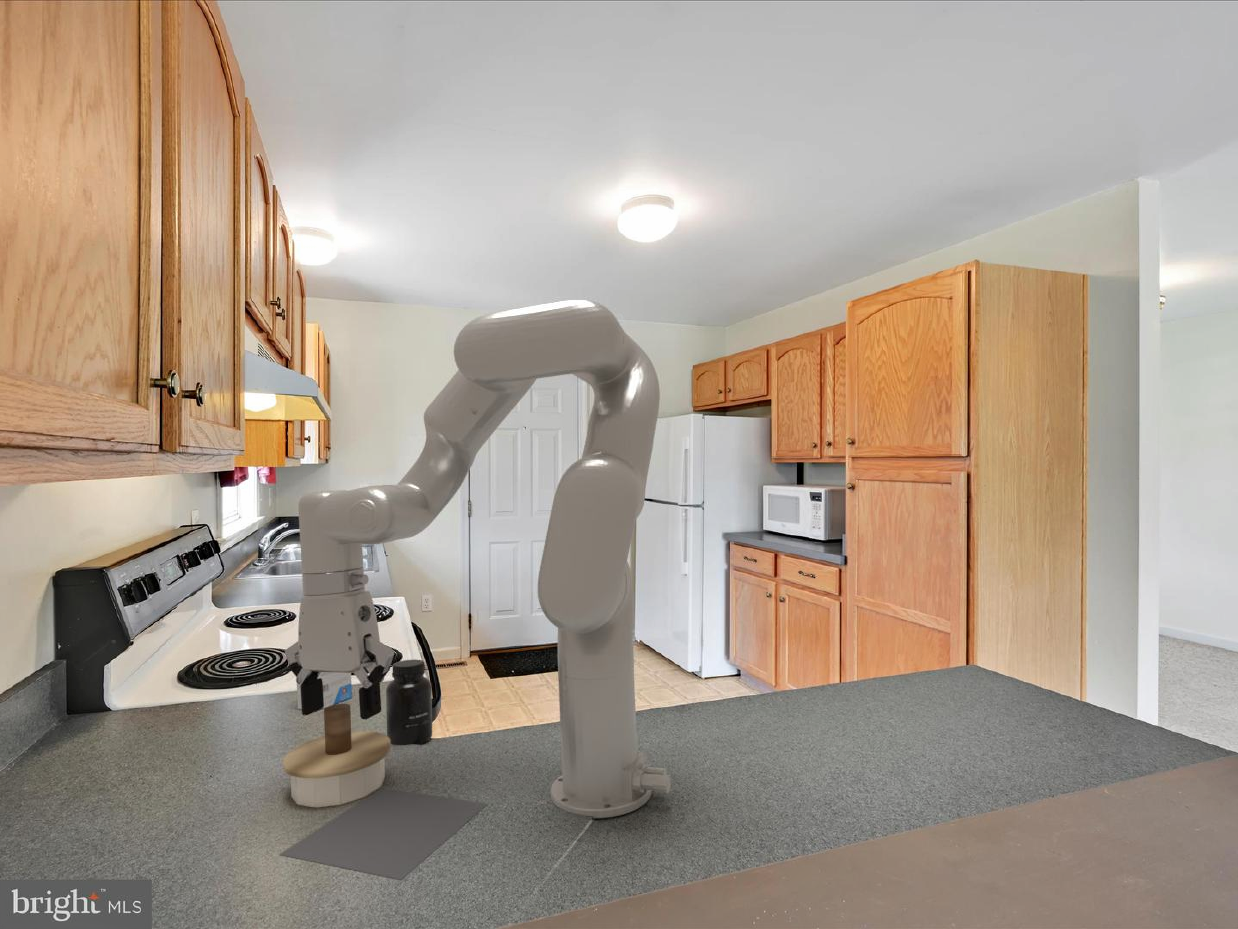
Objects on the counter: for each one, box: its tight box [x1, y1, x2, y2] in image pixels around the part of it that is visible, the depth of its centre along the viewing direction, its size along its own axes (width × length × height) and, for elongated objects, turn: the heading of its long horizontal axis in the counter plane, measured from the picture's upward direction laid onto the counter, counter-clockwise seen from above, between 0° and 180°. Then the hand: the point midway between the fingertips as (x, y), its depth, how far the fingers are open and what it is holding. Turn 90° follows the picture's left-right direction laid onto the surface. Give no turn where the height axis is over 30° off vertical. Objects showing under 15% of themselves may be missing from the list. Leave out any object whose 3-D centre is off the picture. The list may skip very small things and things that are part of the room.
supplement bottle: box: [385, 659, 433, 746], centre depth 104 cm, size 7×7×12 cm
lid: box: [283, 703, 392, 778], centre depth 88 cm, size 13×13×6 cm
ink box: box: [296, 672, 353, 711], centre depth 124 cm, size 8×5×15 cm, turn 152°
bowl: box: [290, 757, 386, 808], centre depth 88 cm, size 11×11×4 cm
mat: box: [278, 787, 489, 881], centre depth 76 cm, size 16×16×1 cm
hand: (341, 713), depth 88 cm, fingers open, 9 cm apart
